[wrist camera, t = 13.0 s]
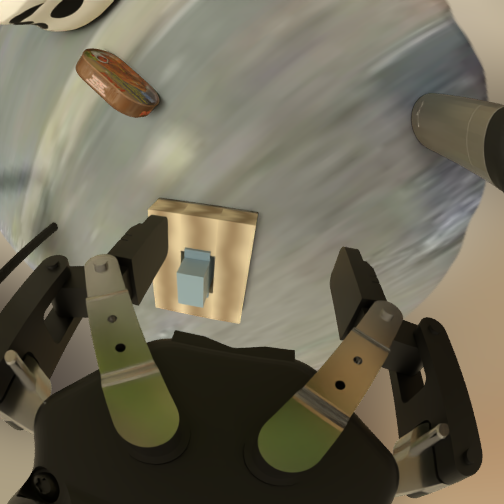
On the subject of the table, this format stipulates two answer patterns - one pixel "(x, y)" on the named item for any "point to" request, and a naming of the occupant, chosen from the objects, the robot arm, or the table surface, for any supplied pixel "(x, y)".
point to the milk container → (52, 13)
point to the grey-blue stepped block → (195, 277)
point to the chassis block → (222, 248)
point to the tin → (117, 83)
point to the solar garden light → (26, 251)
